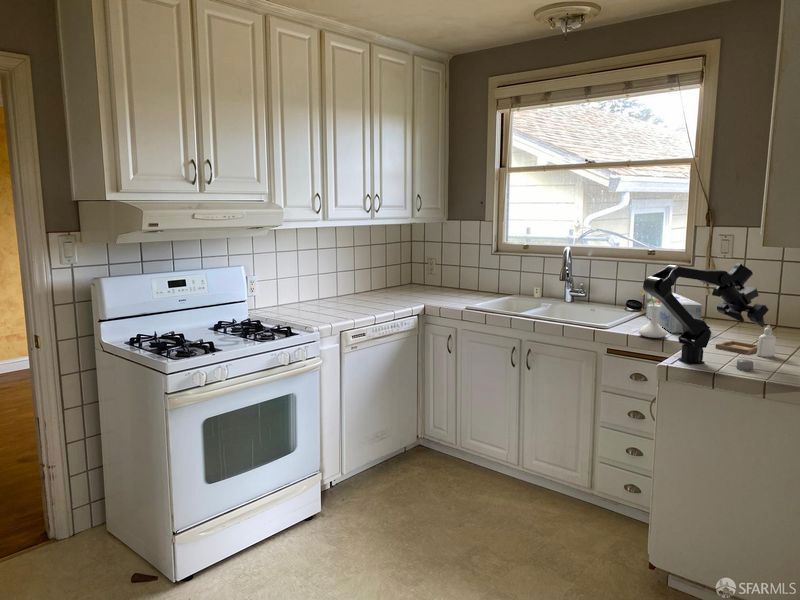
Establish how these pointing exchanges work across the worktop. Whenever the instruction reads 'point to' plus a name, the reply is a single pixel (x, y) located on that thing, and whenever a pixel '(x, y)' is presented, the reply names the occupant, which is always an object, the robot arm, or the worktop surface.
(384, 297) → the worktop surface
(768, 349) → the eye dropper bottle
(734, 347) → the shallow wooden tray
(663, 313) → the soda pack
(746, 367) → the grey plastic cap
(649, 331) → the flower in vase
